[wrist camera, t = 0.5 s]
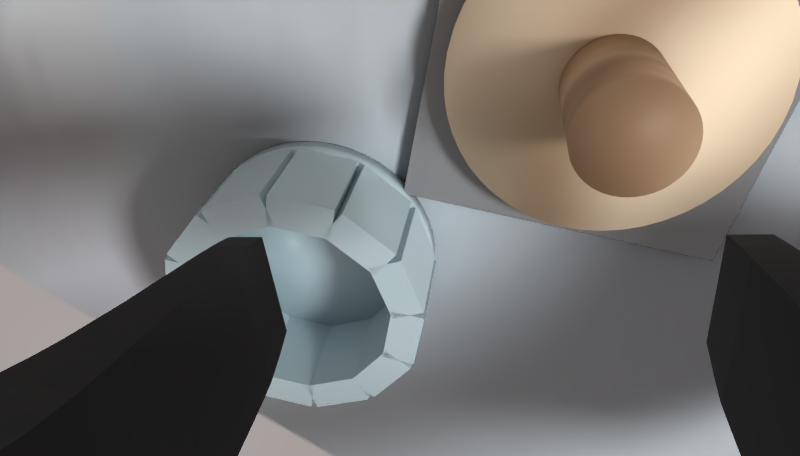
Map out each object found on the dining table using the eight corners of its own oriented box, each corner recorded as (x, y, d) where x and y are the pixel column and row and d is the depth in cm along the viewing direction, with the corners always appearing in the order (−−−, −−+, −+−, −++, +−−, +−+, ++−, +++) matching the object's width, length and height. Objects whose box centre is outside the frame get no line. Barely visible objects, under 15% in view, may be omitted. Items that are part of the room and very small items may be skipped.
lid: (865, -67, 15) (980, -36, 11) (702, 244, 19) (745, 337, 16) (487, -140, 15) (478, -133, 11) (421, 183, 20) (400, 259, 16)
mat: (892, -89, 15) (901, -87, 14) (708, 253, 20) (712, 261, 20) (472, -169, 15) (470, -169, 15) (405, 187, 20) (403, 193, 20)
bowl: (456, 170, 20) (445, 234, 17) (413, 349, 24) (398, 427, 21) (215, 118, 20) (159, 171, 17) (216, 304, 25) (172, 373, 21)
